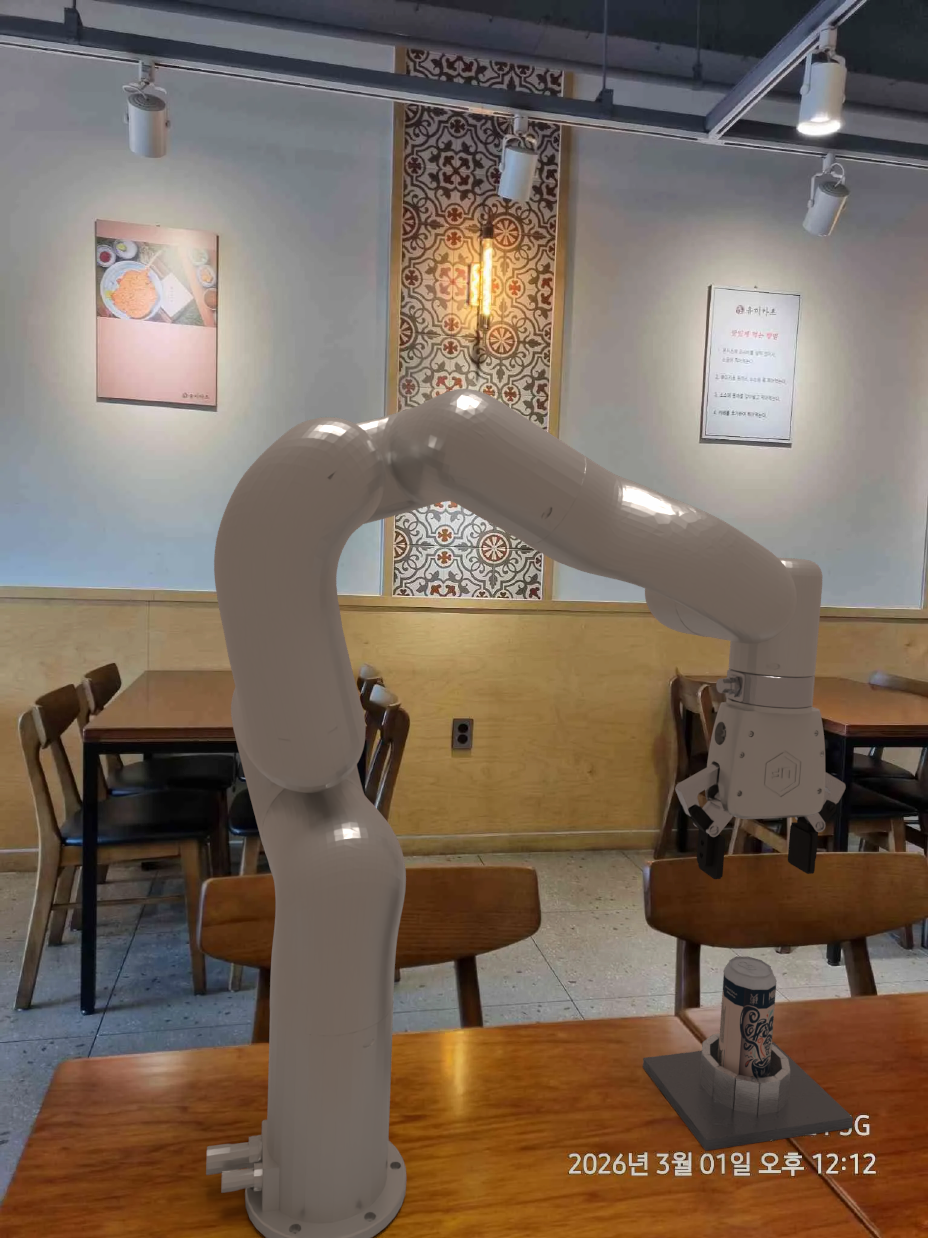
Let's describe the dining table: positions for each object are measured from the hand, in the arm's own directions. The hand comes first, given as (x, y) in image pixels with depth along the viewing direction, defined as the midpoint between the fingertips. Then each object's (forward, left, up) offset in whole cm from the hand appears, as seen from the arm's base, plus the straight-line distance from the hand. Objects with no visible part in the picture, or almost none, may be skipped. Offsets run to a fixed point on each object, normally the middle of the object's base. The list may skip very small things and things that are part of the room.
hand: (755, 871), depth 79 cm
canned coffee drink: (0, 0, -21) cm, 21 cm away
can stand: (0, 0, -22) cm, 22 cm away
